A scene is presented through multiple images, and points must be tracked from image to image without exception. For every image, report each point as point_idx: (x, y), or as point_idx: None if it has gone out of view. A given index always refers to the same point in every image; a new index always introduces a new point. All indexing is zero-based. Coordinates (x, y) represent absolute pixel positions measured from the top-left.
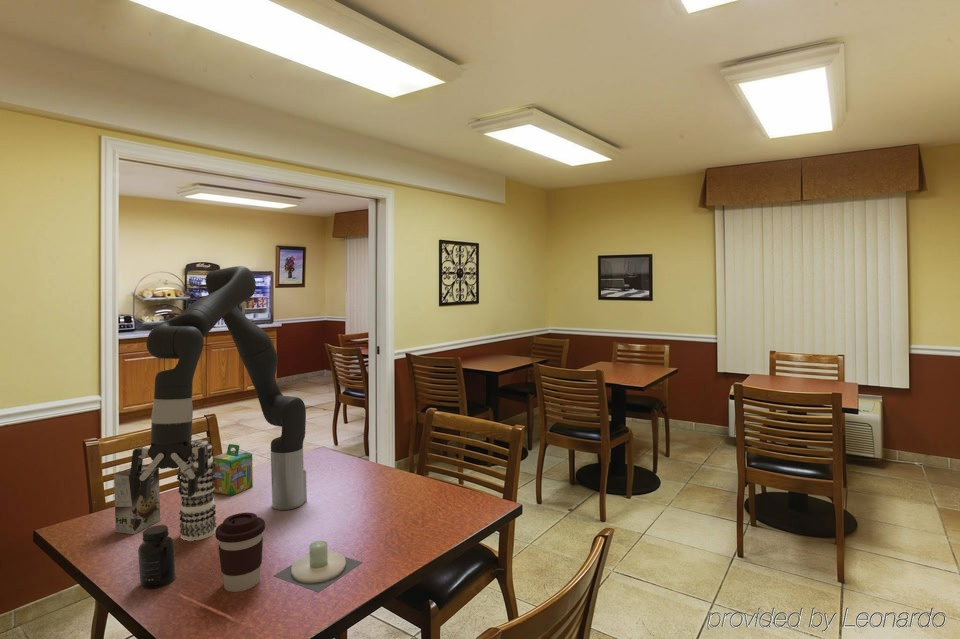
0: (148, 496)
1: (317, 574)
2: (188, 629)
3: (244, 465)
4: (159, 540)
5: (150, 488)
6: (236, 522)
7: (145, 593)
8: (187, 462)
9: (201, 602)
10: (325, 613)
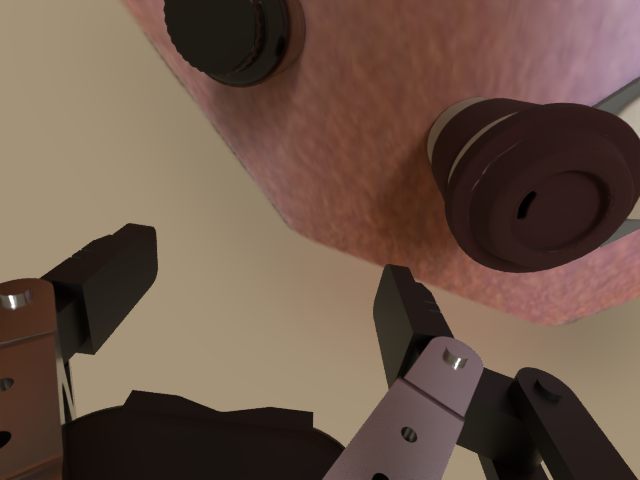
0: (153, 253)
1: (636, 206)
2: (360, 256)
3: None
4: (247, 69)
5: (128, 251)
6: (536, 215)
7: (251, 88)
8: (401, 430)
9: (378, 180)
10: (576, 297)
